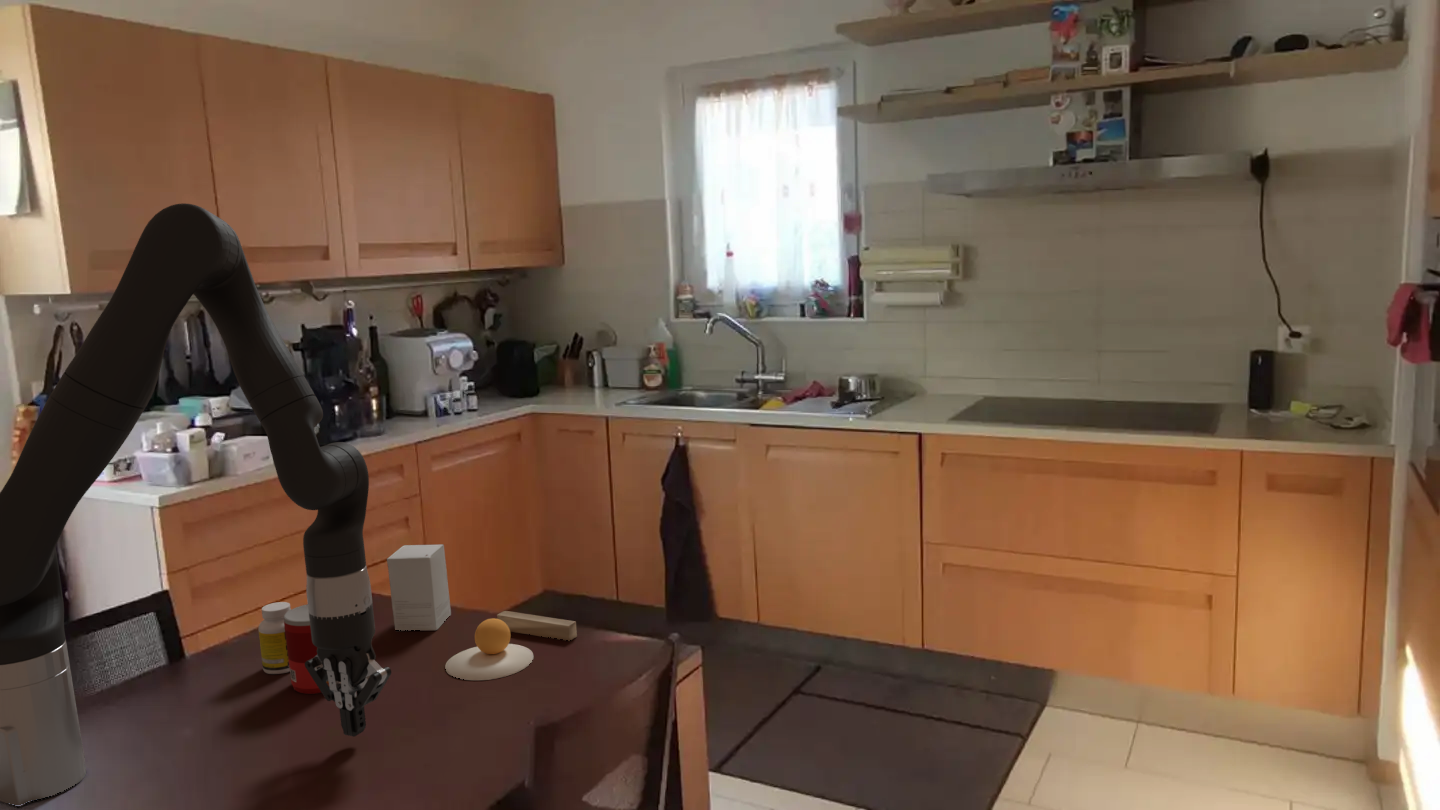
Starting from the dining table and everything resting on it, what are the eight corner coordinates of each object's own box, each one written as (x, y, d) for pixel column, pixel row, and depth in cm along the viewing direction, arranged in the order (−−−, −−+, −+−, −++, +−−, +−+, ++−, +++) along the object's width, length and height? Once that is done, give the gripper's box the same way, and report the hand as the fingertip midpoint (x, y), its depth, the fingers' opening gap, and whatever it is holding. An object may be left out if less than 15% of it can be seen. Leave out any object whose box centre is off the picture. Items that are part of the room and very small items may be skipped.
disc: (497, 686, 148) (497, 684, 148) (426, 672, 154) (426, 671, 154) (550, 651, 160) (550, 650, 160) (482, 640, 165) (482, 638, 165)
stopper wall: (569, 641, 163) (568, 625, 163) (498, 629, 170) (496, 614, 169) (576, 636, 165) (575, 621, 165) (505, 625, 171) (504, 610, 171)
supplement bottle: (292, 674, 155) (285, 612, 154) (256, 676, 155) (249, 613, 154) (307, 659, 161) (300, 599, 159) (272, 661, 161) (265, 600, 159)
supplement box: (452, 614, 177) (445, 543, 175) (436, 631, 170) (429, 557, 168) (410, 615, 178) (403, 543, 176) (393, 631, 171) (385, 557, 169)
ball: (507, 663, 159) (492, 645, 155) (478, 658, 161) (462, 640, 157) (521, 631, 162) (507, 614, 158) (492, 627, 164) (477, 609, 160)
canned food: (330, 696, 147) (322, 622, 145) (280, 693, 149) (271, 620, 147) (359, 673, 155) (351, 603, 153) (311, 671, 156) (302, 601, 154)
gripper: (278, 607, 129) (293, 737, 132) (357, 621, 124) (372, 756, 126) (324, 587, 136) (338, 711, 139) (402, 599, 130) (415, 729, 133)
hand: (354, 733), depth 133 cm, fingers closed
